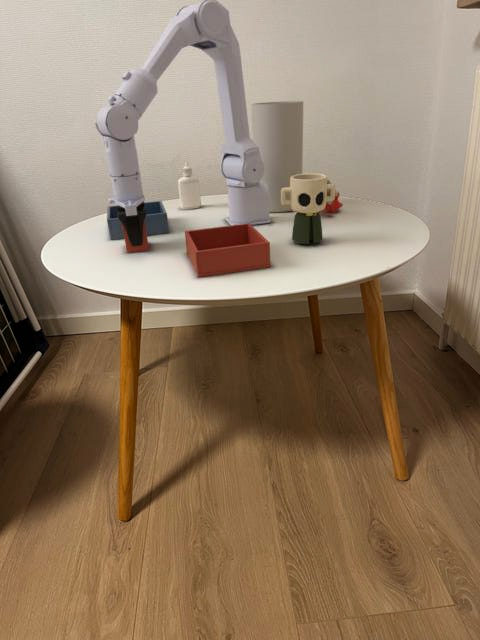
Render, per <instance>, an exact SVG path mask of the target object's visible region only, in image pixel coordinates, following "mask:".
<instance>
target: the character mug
mask: <svg viewBox="0 0 480 640" xmlns="http://www.w3.org/2000/svg"><path fill="white" fill-rule="evenodd" d="M327 180H328V176H327V174H325V173H316V172H315V173H313V172H312V173H311V172H309V173H307V172H306V173H302V174H297V175H293V176H291V177H290V187H287V188H282V189H281V204H282V205H290V207H291V209H292V211H293V212H296V213H295V215H294V219H293V225H292V231H291V232H292V233H291V240H292V241H294V242H295V243H297V244H301V245H309V244H310V241H312V242H313V244H317V243H320V242H321V241H323V226H322V216H321V214H320V212H321V211H322V212H323V210H324V209H325V206H326V201H333V200H334V199H335V190H336V184H335V183H331V184H327ZM327 189H331V191H330V196H327ZM288 192H290V200H286V193H288Z"/></svg>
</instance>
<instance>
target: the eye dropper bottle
mask: <svg viewBox="0 0 480 640" xmlns="http://www.w3.org/2000/svg"><path fill="white" fill-rule="evenodd" d="M181 169H182V177H180V178H179V179H178V180H177V188H178V196H179V205H180V208H181V210H194V209H198V208H201V207H202V199H201V189H200V179H199V178H198V177H196V176H194V175H193V169H192V166H190V164H189V162H188V161H185V162H184V166H183V167H182V168H181Z"/></svg>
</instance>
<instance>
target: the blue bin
mask: <svg viewBox="0 0 480 640" xmlns="http://www.w3.org/2000/svg"><path fill="white" fill-rule="evenodd" d="M144 202H145V208H146V217H145V220H144V221H145V226H146V233H147V236H154V235H155V236H156V235H162V234H163V235H164V234H170V227H169V226H170V225H169V220H168V212H167V211H166V209H165V206H164V203H163V201H162V200H155V201H144ZM117 206H118V205H117V204H116V205H109V206H107V209H106V210H107V211H106V223H107V228H108V233H109V239H110V240H111V241H114V240H115V241H116V240H121V239H124V233H123V228H122V223H121V221H120V220H119V218H118V217H117V212H119V211H118V209H117Z"/></svg>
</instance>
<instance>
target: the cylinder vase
mask: <svg viewBox="0 0 480 640" xmlns="http://www.w3.org/2000/svg"><path fill="white" fill-rule="evenodd" d="M250 107H251V109H250V110H251V134H252V135H251V137H252V138H251V140H252V141H253V142H254V143H255V144H256V145H257V146H258V148H259V153H260V156H261V158H262V160H263V162H264V175H263V177H262V179H261V180H260V182H265V183H266V184H267V186H268V190H269V206H270V213H287V212H292V211H293V210H292V209H291V207H290V205H282V204H281V189H282V188H287V187H290V177H291V176H293V175H297V174H303V153H304V152H303V150H304V149H303V148H304V147H303V145H304V100H288V101H287V100H286V101H269V102H257V103H251V104H250ZM286 200H290V192H288V193H286Z"/></svg>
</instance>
